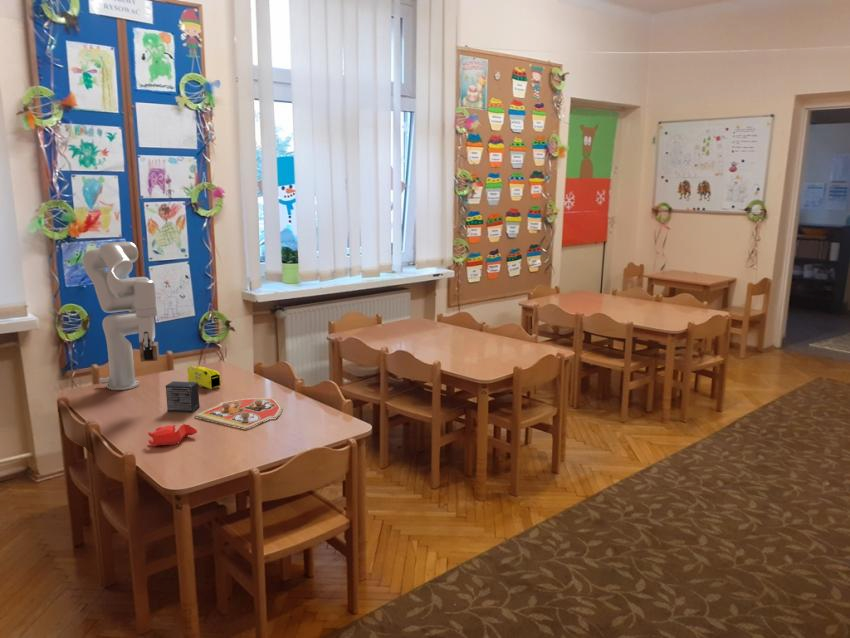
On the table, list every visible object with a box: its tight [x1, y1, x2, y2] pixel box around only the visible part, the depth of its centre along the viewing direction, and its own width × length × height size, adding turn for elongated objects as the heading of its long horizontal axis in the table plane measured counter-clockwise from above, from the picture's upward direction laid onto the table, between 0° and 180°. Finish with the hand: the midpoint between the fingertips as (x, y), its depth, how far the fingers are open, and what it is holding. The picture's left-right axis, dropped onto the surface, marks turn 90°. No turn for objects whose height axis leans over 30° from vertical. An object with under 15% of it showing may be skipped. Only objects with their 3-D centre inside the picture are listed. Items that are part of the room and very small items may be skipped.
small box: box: [165, 381, 200, 413], centre depth 255 cm, size 11×6×10 cm, turn 84°
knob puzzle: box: [194, 397, 284, 429], centre depth 254 cm, size 29×30×4 cm
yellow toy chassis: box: [187, 365, 222, 390], centre depth 284 cm, size 16×6×8 cm, turn 54°
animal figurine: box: [147, 423, 198, 448], centre depth 226 cm, size 12×15×5 cm
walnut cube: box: [139, 341, 160, 363], centre depth 257 cm, size 6×6×6 cm
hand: (149, 356), depth 257 cm, fingers closed on walnut cube, 6 cm apart
